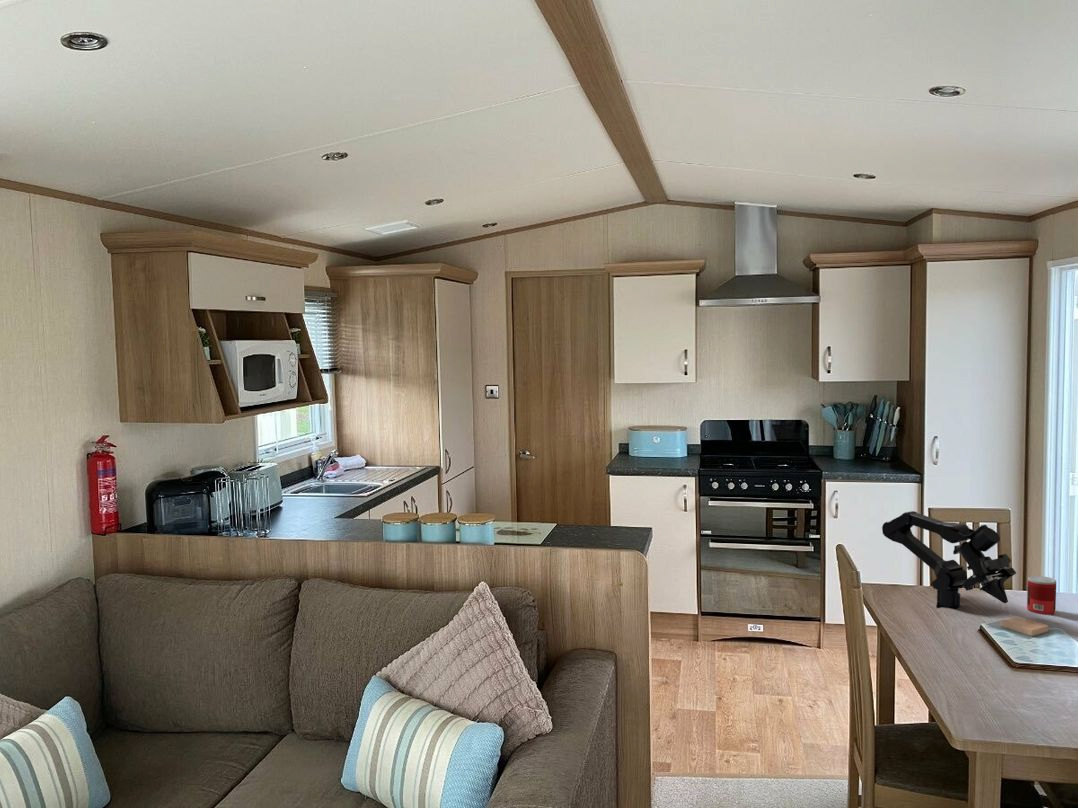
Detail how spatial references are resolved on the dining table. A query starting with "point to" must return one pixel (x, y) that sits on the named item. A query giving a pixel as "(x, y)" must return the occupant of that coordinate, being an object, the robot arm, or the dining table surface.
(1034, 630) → the tile
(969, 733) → the dining table surface
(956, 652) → the dining table surface
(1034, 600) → the canned food
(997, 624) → the mat
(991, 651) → the dining table surface
